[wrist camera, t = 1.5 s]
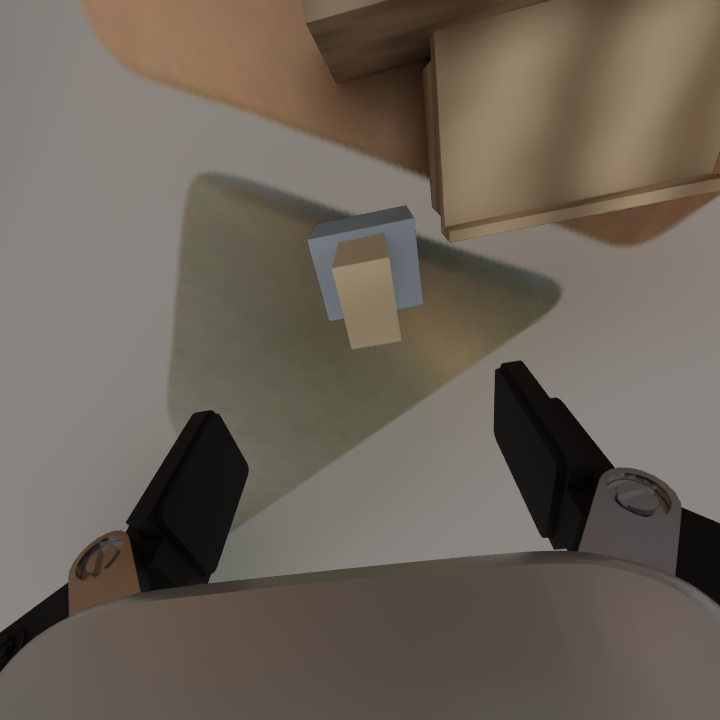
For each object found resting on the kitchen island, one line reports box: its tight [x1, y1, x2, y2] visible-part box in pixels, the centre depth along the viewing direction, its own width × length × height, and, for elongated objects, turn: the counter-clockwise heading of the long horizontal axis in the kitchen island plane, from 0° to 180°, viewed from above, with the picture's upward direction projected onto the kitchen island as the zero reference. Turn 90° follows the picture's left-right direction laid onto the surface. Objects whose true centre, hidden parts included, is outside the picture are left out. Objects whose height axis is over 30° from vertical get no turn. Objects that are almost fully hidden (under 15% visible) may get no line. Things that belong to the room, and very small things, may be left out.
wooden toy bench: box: [301, 0, 720, 243], centre depth 16 cm, size 24×13×13 cm, turn 101°
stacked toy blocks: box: [307, 205, 423, 349], centre depth 23 cm, size 7×6×10 cm
